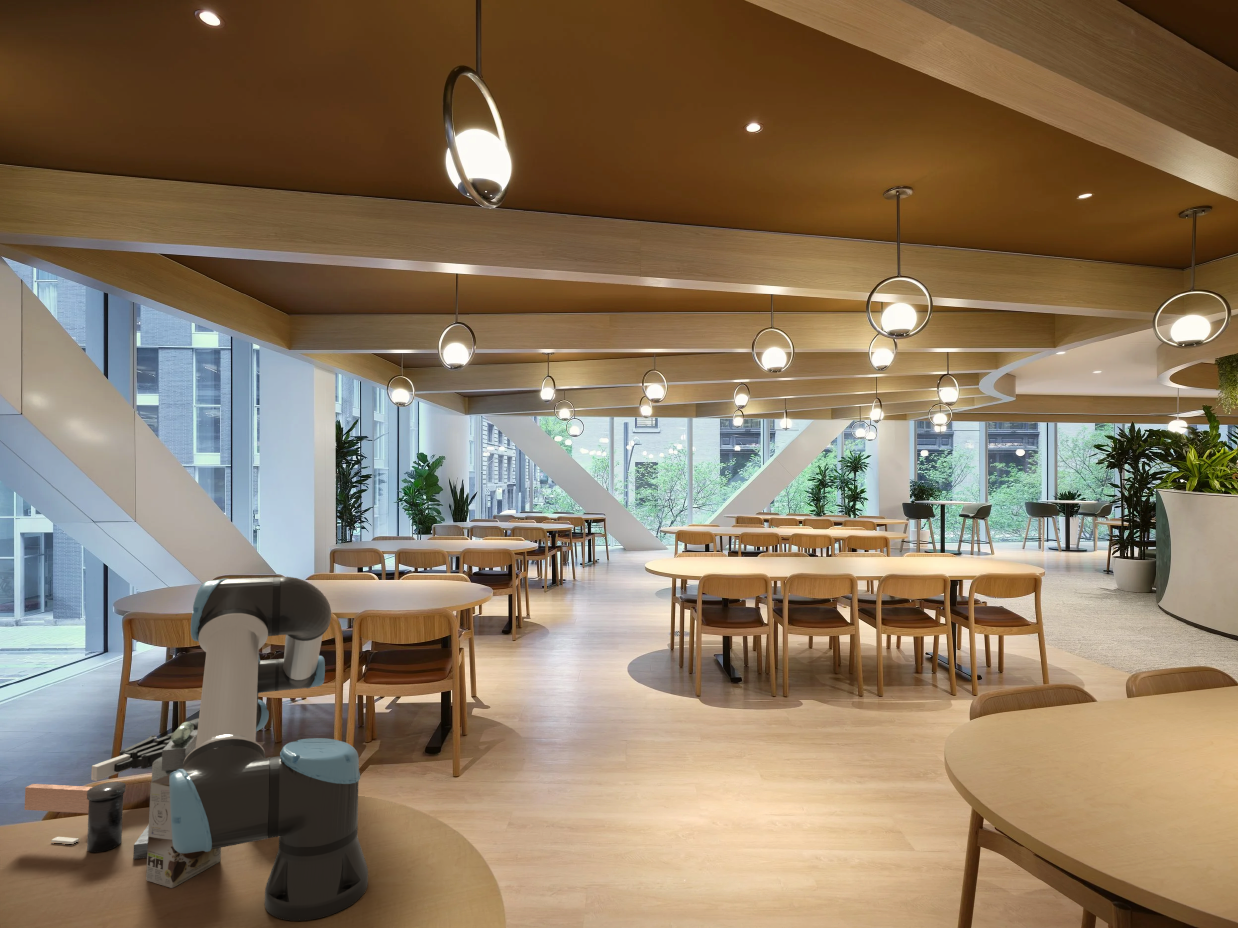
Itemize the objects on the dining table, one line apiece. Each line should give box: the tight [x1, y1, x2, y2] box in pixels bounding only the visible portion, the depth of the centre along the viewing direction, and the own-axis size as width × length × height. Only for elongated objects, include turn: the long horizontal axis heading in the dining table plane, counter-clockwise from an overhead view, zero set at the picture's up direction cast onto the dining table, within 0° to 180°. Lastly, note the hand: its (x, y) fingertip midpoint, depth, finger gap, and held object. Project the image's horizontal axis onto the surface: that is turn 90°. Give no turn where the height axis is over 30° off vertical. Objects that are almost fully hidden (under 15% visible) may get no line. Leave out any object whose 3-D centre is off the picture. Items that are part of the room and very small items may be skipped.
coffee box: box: [145, 775, 222, 889], centre depth 118 cm, size 9×6×16 cm
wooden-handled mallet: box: [24, 781, 127, 853], centre depth 126 cm, size 18×6×10 cm, turn 85°
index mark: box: [50, 836, 80, 845], centre depth 127 cm, size 4×1×1 cm, turn 82°
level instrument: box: [132, 721, 198, 860], centre depth 129 cm, size 11×11×20 cm
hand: (94, 773), depth 136 cm, fingers closed
